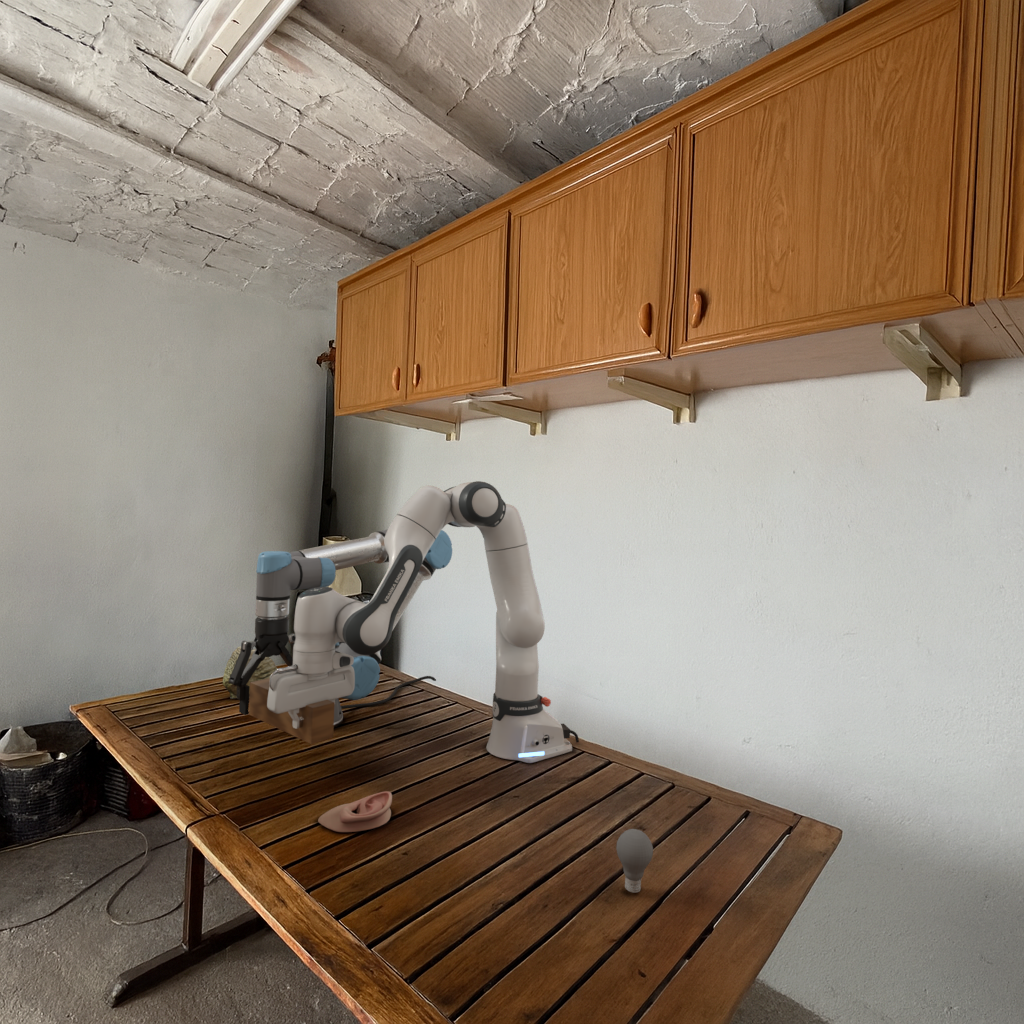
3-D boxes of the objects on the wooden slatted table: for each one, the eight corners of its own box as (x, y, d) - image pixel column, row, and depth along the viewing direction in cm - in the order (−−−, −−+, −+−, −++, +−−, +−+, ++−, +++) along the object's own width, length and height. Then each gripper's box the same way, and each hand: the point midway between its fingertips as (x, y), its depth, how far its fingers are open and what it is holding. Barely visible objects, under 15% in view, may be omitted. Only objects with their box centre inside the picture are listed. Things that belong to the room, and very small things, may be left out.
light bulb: (610, 879, 108) (613, 822, 108) (644, 879, 109) (647, 822, 109) (619, 902, 102) (622, 840, 102) (655, 901, 103) (658, 840, 103)
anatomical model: (310, 807, 121) (339, 781, 132) (309, 827, 121) (338, 800, 132) (375, 817, 118) (398, 790, 129) (374, 838, 118) (398, 809, 129)
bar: (248, 714, 151) (249, 682, 151) (270, 709, 156) (271, 677, 156) (311, 744, 135) (312, 708, 135) (333, 737, 139) (334, 702, 139)
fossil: (218, 695, 195) (220, 647, 195) (278, 685, 208) (279, 640, 207) (228, 703, 189) (230, 653, 188) (289, 692, 201) (290, 645, 201)
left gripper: (230, 625, 139) (227, 723, 139) (325, 613, 157) (321, 699, 158) (214, 620, 143) (210, 715, 144) (307, 608, 162) (304, 692, 163)
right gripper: (278, 672, 130) (276, 739, 130) (359, 656, 146) (357, 715, 146) (262, 666, 134) (260, 731, 134) (343, 651, 150) (340, 709, 150)
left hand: (268, 707), depth 151 cm, fingers open, 12 cm apart
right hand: (311, 723), depth 140 cm, fingers closed on bar, 5 cm apart
